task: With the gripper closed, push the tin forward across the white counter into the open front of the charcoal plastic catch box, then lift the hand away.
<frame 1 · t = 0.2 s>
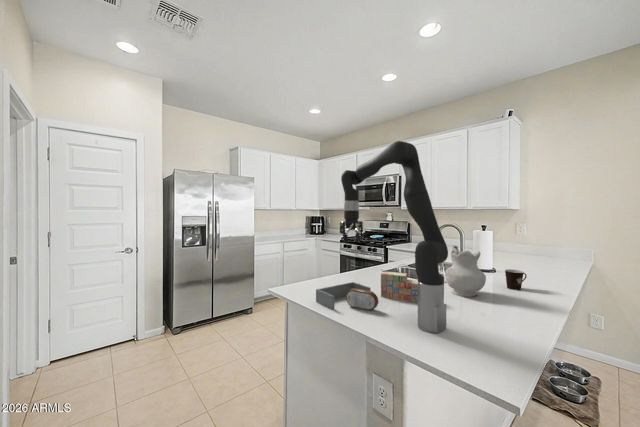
hand: (351, 241, 138), 29 cm above the counter, tool pointing down, fingers open, 8 cm apart
stack of blocks: (403, 298, 137), on the counter
catch box: (343, 300, 133), on the counter
tin: (361, 308, 123), on the counter
coffee mug: (517, 289, 154), on the counter
ceramic pitcher: (462, 293, 146), on the counter
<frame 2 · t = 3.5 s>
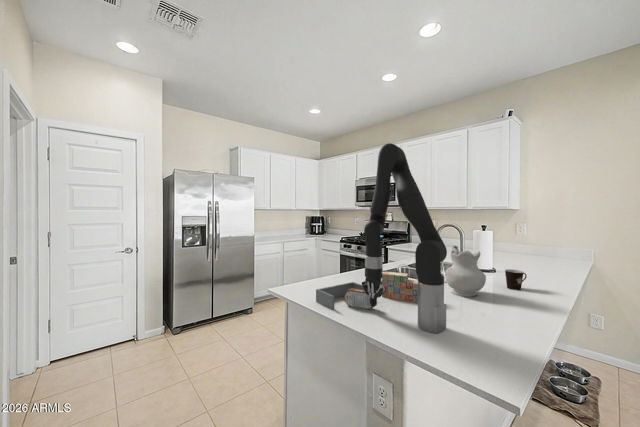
hand: (373, 305, 117), 3 cm above the counter, tool pointing down, fingers closed
tin: (359, 308, 124), on the counter
everything else where it was.
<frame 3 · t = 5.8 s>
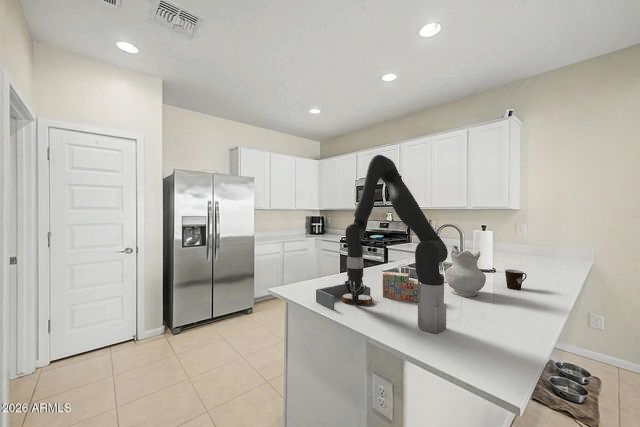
hand: (355, 303, 126), 1 cm above the counter, tool pointing down, fingers closed
tin: (355, 301, 127), point 2 cm above the counter, touching gripper
everything else where it was.
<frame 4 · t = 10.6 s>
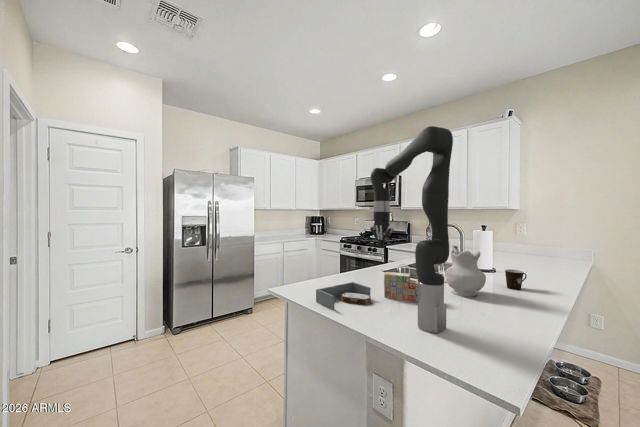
hand: (381, 247, 127), 27 cm above the counter, tool pointing down, fingers closed
tin: (353, 300, 129), point 2 cm above the counter
at the end: tin inside the target area on the catch box (5.6 cm from its centre), point 1.6 cm above the catch box's base; tin moved 6.7 cm from its start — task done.
